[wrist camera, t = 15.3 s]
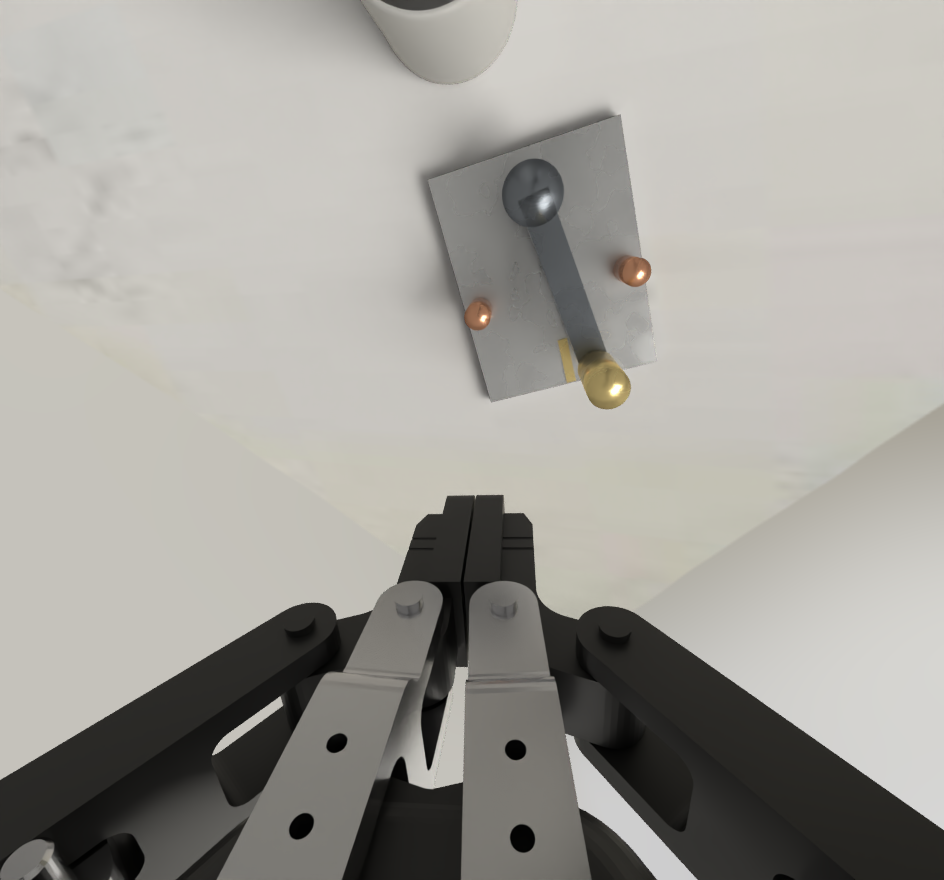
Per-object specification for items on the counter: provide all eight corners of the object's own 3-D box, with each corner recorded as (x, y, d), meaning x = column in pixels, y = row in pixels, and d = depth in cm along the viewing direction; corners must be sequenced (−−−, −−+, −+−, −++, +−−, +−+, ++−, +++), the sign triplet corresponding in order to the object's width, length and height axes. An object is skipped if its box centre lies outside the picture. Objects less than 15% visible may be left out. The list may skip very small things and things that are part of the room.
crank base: (429, 181, 34) (419, 175, 31) (618, 117, 32) (631, 102, 28) (491, 399, 40) (489, 416, 36) (654, 358, 38) (669, 372, 34)
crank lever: (493, 179, 32) (488, 167, 26) (548, 150, 31) (557, 131, 25) (574, 387, 37) (585, 418, 31) (623, 368, 36) (645, 396, 30)
